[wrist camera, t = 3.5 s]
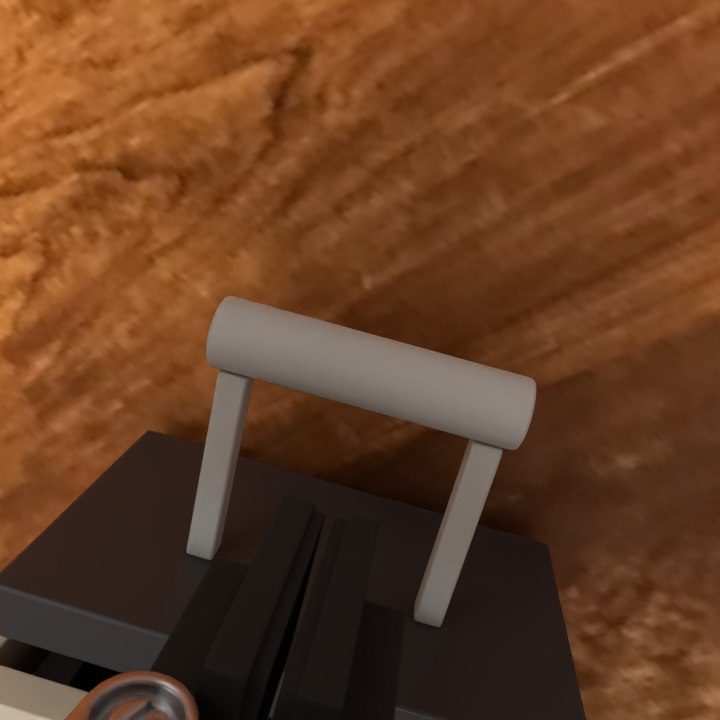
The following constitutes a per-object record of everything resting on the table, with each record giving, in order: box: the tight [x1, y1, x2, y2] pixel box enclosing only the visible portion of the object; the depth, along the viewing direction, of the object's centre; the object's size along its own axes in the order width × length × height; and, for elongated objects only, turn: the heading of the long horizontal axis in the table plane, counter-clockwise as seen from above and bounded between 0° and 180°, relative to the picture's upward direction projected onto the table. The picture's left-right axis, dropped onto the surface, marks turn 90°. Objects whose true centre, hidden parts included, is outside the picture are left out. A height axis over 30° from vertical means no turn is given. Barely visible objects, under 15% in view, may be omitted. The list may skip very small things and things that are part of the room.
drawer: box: [0, 296, 586, 720], centre depth 17 cm, size 20×11×7 cm, turn 166°
